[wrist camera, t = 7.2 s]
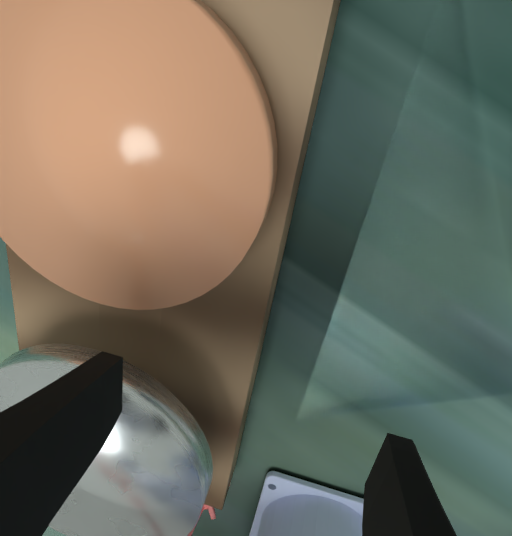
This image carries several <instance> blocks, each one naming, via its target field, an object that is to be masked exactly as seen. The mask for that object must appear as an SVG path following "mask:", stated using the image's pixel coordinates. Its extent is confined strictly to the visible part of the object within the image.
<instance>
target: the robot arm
mask: <svg viewBox="0 0 512 536" xmlns="http://www.w3.org/2000/svg"><path fill="white" fill-rule="evenodd" d="M122 393H123V357H121V356H117V355H114V354H110V353H107V352H103V351H102V352H100V353H99V354H97V355H95V356H94V357H92V358H90V359H89V360H87V361H86V362H84V363H82V364H81V365H79V366H78V367H76V368H75V369H73V370H71V371H70V372H68V373H67V374H65V375H63V376H62V377H60V378H59V379H57V380H55V381H54V382H52V383H50V384H49V385H47V386H45V387H44V388H42V389H40V390H39V391H37V392H35V393H34V394H32V395H30V396H29V397H27V398H25V399H24V400H22V401H20V402H18V403H16V404H15V405H13V406H11V407H9V408H7V409H5V410H4V411H2V412H0V536H42V535H43V533H44V532H45V530H46V529H47V527H48V525H49V524H50V522H51V521H52V519H53V518H54V517H55V515H56V514H57V512H58V511H59V509H60V508H61V506H62V505H63V504H64V502H65V501H66V499H67V498H68V496H69V495H70V494H71V492H72V491H73V489H74V488H75V486H76V485H77V484H78V482H79V481H80V479H81V478H82V476H83V475H84V473H85V472H86V471H87V469H88V468H89V466H90V465H91V463H92V462H93V460H94V459H95V457H96V456H97V455H98V453H99V452H100V450H101V449H102V447H103V446H104V444H105V442H106V440H107V439H108V437H109V435H110V433H111V431H112V429H113V428H114V426H115V424H116V422H117V420H118V418H119V416H120V414H121V412H122ZM249 536H457V535H456V533H455V531H454V529H453V527H452V525H451V523H450V521H449V519H448V517H447V515H446V513H445V511H444V509H443V507H442V505H441V503H440V501H439V499H438V496H437V494H436V492H435V490H434V488H433V485H432V483H431V481H430V479H429V477H428V474H427V472H426V470H425V467H424V465H423V463H422V460H421V458H420V456H419V453H418V451H417V449H416V446H415V444H414V442H413V441H412V440H410V439H407V438H403V437H400V436H396V435H393V434H389V433H387V436H386V438H385V440H384V442H383V445H382V447H381V449H380V451H379V454H378V456H377V458H376V460H375V463H374V465H373V467H372V470H371V472H370V474H369V476H368V479H367V481H366V483H365V491H364V499H363V498H359V497H356V496H353V495H350V494H347V493H343V492H340V491H337V490H334V489H331V488H327V487H324V486H321V485H318V484H315V483H311V482H308V481H305V480H302V479H299V478H295V477H292V476H289V475H286V474H283V473H279V472H276V471H270V472H268V473H267V475H266V478H265V482H264V485H263V489H262V492H261V496H260V499H259V503H258V506H257V510H256V513H255V517H254V520H253V524H252V527H251V531H250V534H249Z"/></svg>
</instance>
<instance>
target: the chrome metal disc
mask: <svg viewBox="0 0 512 536" xmlns="http://www.w3.org/2000/svg"><path fill="white" fill-rule="evenodd" d="M100 352H101V351H98V350H95V349H90V348H86V347H82V346H76V345H68V344H44V345H36V346H32V347H29V348H25V349H22V350H20V351H18V352H16V353H14V354H12V355H11V356H10V357H8V358H7V359H6V360H4V361H3V362H2V363H1V364H0V412H2V411H4V410H5V409H7V408H9V407H11V406H13V405H15V404H16V403H18V402H20V401H22V400H24V399H25V398H27V397H29V396H30V395H32V394H34V393H35V392H37V391H39V390H40V389H42V388H44V387H45V386H47V385H49V384H50V383H52V382H54V381H55V380H57V379H59V378H60V377H62V376H63V375H65V374H67V373H68V372H70V371H71V370H73V369H75V368H76V367H78V366H79V365H81V364H82V363H84V362H86V361H87V360H89V359H90V358H92V357H94V356H95V355H97V354H99V353H100ZM212 475H213V463H212V455H211V452H210V448H209V444H208V442H207V440H206V438H205V435H204V433H203V431H202V429H201V428H200V426H199V424H198V423H197V421H196V419H195V418H194V417H193V416H192V414H191V413H190V412H189V410H188V409H187V408H186V407H185V405H184V404H183V403H182V402H181V401H180V400H179V399H178V398H177V397H176V396H175V395H174V394H173V393H172V392H170V391H169V390H168V389H167V388H166V387H165V386H163V385H162V384H161V383H160V382H158V381H157V380H156V379H154V378H153V377H151V376H150V375H148V374H147V373H146V372H144V371H142V370H140V369H139V368H137V367H135V366H133V365H132V364H130V363H128V362H126V361H124V360H123V393H122V412H121V414H120V416H119V418H118V420H117V422H116V424H115V426H114V428H113V429H112V431H111V433H110V435H109V437H108V439H107V440H106V442H105V444H104V446H103V447H102V449H101V450H100V452H99V453H98V455H97V456H96V457H95V459H94V460H93V462H92V463H91V465H90V466H89V468H88V469H87V471H86V472H85V473H84V475H83V476H82V478H81V479H80V481H79V482H78V484H77V485H76V486H75V488H74V489H73V491H72V492H71V494H70V495H69V496H68V498H67V499H66V501H65V502H64V504H63V505H62V506H61V508H60V509H59V511H58V512H57V514H56V515H55V517H54V518H53V519H52V521H51V522H50V524H49V525H48V526H49V527H51V528H53V529H55V530H56V531H59V532H61V533H63V534H65V535H67V536H187V535H188V534H189V533H190V532H191V531H192V530H193V528H194V527H195V525H196V523H197V521H198V519H199V516H200V514H201V511H202V508H203V505H204V502H205V499H206V496H207V494H208V491H209V488H210V484H211V481H212Z"/></svg>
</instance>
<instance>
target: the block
mask: <svg viewBox="0 0 512 536" xmlns="http://www.w3.org/2000/svg"><path fill="white" fill-rule="evenodd" d="M201 1H202V2H203V3H204V4H206V5H207V6H208V7H209V8H210V9H212V10H213V11H214V12H215V13H216V14H217V15H218V17H219V18H220V19H221V20H222V21H223V22H224V23H225V24H226V25H227V26H228V27H229V29H230V30H231V31H232V32H233V33H234V35H235V36H236V38H237V39H238V41H239V42H240V43H241V45H242V46H243V48H244V49H245V50H246V52H247V53H248V55H249V57H250V59H251V61H252V63H253V65H254V66H255V68H256V70H257V72H258V74H259V76H260V79H261V81H262V84H263V86H264V89H265V91H266V94H267V96H268V99H269V103H270V107H271V111H272V115H273V119H274V123H275V130H276V138H277V176H276V183H275V190H274V194H273V197H272V201H271V205H270V209H269V211H268V213H267V216H266V218H265V220H264V223H263V225H262V227H261V229H260V231H259V232H258V234H257V236H256V238H255V240H254V241H253V243H252V245H251V246H250V248H249V250H248V251H247V253H246V255H245V256H244V258H243V260H242V261H241V262H240V263H239V264H238V266H237V267H236V268H235V269H234V270H233V272H232V273H231V274H230V275H229V276H228V277H226V278H225V279H224V280H223V281H222V282H221V283H220V284H219V285H217V286H216V287H214V288H213V289H211V290H210V291H208V292H207V293H205V294H204V295H202V296H200V297H197V298H195V299H193V300H191V301H189V302H186V303H183V304H179V305H176V306H172V307H168V308H161V309H154V310H132V309H123V308H116V307H112V306H107V305H103V304H99V303H96V302H93V301H90V300H87V299H84V298H82V297H80V296H78V295H75V294H73V293H71V292H69V291H67V290H65V289H63V288H61V287H60V286H58V285H56V284H55V283H53V282H51V281H49V280H48V279H47V278H45V277H44V276H42V275H41V274H40V273H38V272H37V271H35V270H34V269H33V268H32V267H31V266H29V265H28V264H27V263H26V262H25V261H24V260H22V259H21V258H20V257H19V256H18V255H17V254H16V253H15V252H14V251H13V250H12V249H11V248H10V247H9V246H8V245H7V244H6V248H7V256H8V264H9V272H10V280H11V288H12V296H13V303H14V311H15V319H16V327H17V335H18V343H19V351H20V350H22V349H25V348H29V347H32V346H36V345H44V344H68V345H76V346H82V347H86V348H90V349H95V350H98V351H101V352H102V351H103V352H107V353H110V354H114V355H117V356H121V357H123V360H124V361H126V362H128V363H130V364H132V365H133V366H135V367H137V368H139V369H140V370H142V371H144V372H146V373H147V374H148V375H150V376H151V377H153V378H154V379H156V380H157V381H158V382H160V383H161V384H162V385H163V386H165V387H166V388H167V389H168V390H169V391H170V392H172V393H173V394H174V395H175V396H176V397H177V398H178V399H179V400H180V401H181V402H182V403H183V404H184V405H185V407H186V408H187V409H188V410H189V412H190V413H191V414H192V416H193V417H194V418H195V419H196V421H197V423H198V424H199V426H200V428H201V429H202V431H203V433H204V435H205V438H206V440H207V442H208V444H209V448H210V452H211V455H212V463H213V475H212V481H211V484H210V488H209V491H208V494H207V496H206V499H205V502H204V504H205V505H208V506H211V507H214V508H217V509H220V510H222V508H223V505H224V502H225V498H226V495H227V492H228V489H229V485H230V482H231V479H232V475H233V472H234V469H235V466H236V461H237V457H238V452H239V448H240V444H241V439H242V435H243V430H244V426H245V421H246V417H247V413H248V408H249V404H250V399H251V395H252V390H253V386H254V382H255V377H256V373H257V368H258V364H259V359H260V355H261V351H262V346H263V342H264V337H265V333H266V328H267V324H268V320H269V315H270V311H271V306H272V302H273V297H274V293H275V289H276V284H277V280H278V275H279V271H280V266H281V262H282V258H283V253H284V249H285V244H286V240H287V235H288V231H289V227H290V222H291V218H292V213H293V209H294V204H295V200H296V196H297V191H298V187H299V182H300V178H301V173H302V169H303V165H304V160H305V156H306V151H307V147H308V143H309V138H310V134H311V129H312V125H313V120H314V116H315V112H316V107H317V103H318V98H319V94H320V89H321V85H322V81H323V76H324V72H325V67H326V63H327V58H328V54H329V50H330V45H331V41H332V36H333V32H334V27H335V23H336V19H337V14H338V10H339V5H340V1H341V0H201Z"/></svg>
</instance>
